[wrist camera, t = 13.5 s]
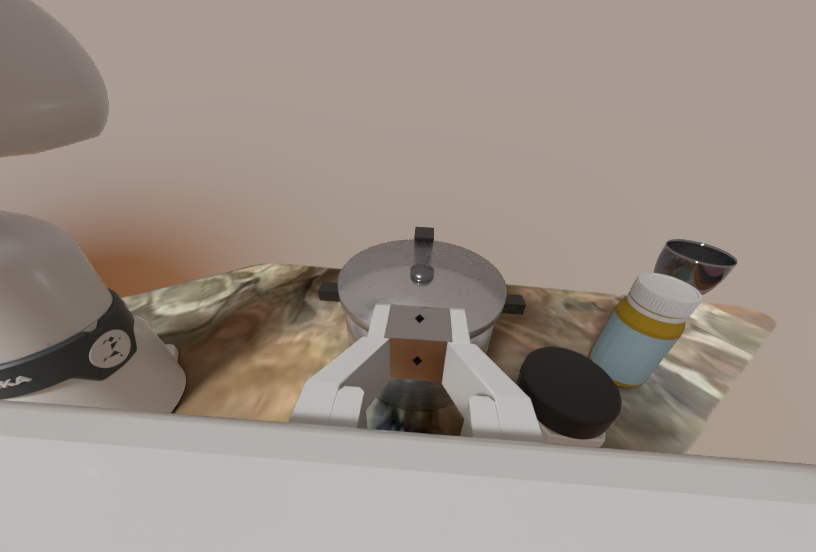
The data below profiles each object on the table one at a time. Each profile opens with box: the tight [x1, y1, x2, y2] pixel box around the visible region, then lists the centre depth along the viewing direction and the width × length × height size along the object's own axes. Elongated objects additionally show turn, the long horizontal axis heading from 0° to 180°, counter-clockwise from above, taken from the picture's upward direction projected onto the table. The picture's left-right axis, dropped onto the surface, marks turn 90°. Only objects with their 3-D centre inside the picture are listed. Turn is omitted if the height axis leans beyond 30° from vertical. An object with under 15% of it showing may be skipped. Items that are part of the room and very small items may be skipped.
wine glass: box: [654, 239, 737, 295], centre depth 46 cm, size 8×8×15 cm
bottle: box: [589, 273, 702, 388], centre depth 38 cm, size 7×7×15 cm
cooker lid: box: [338, 227, 507, 339], centre depth 38 cm, size 21×24×2 cm
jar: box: [517, 347, 621, 447], centre depth 29 cm, size 9×8×12 cm
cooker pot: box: [318, 282, 526, 411], centre depth 40 cm, size 27×21×12 cm
